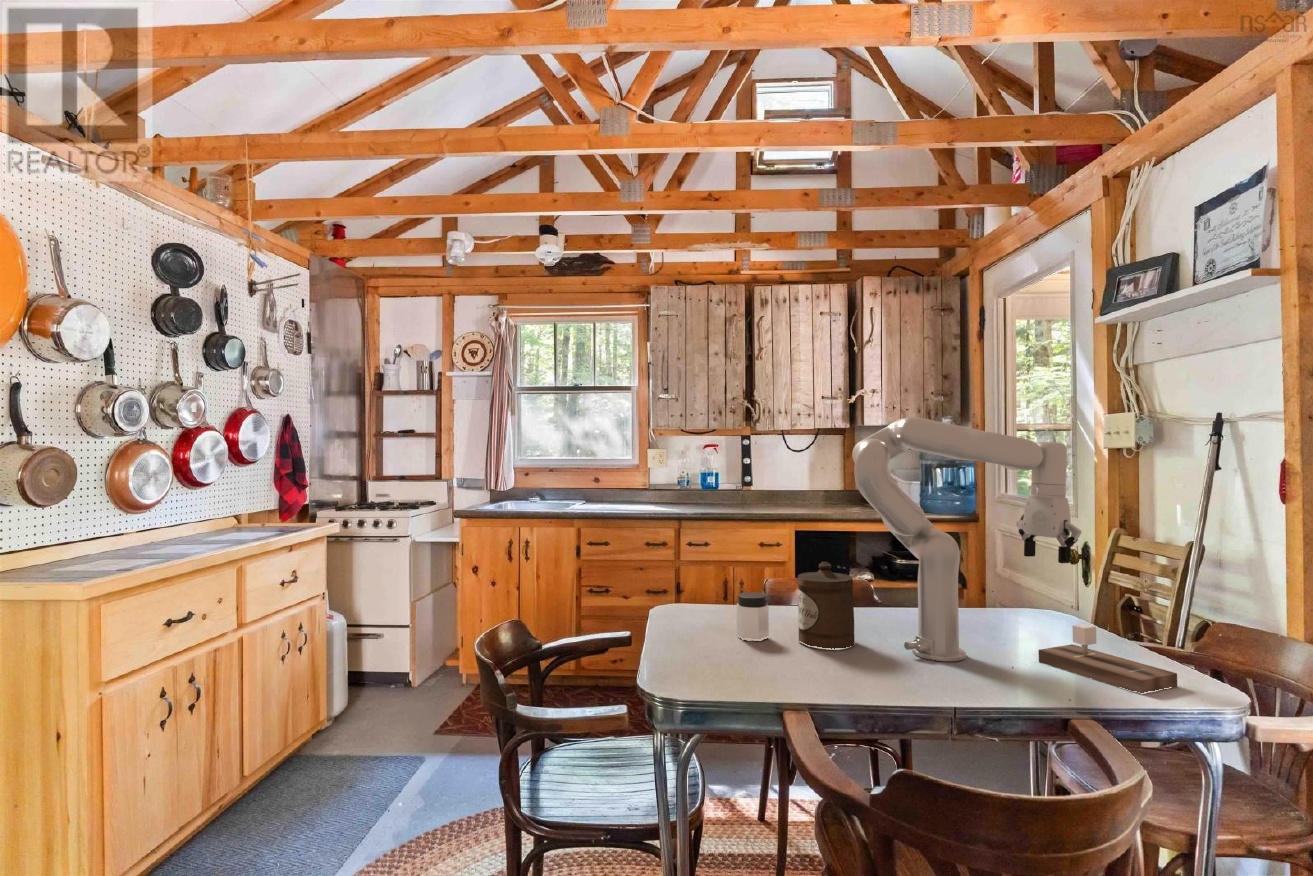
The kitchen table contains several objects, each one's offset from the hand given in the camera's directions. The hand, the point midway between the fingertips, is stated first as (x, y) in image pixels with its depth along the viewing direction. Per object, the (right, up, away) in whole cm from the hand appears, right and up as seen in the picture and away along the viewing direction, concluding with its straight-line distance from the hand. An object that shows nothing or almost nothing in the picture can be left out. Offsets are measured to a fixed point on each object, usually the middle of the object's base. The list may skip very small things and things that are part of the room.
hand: (1046, 559), depth 165 cm
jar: (-71, -26, +20) cm, 78 cm away
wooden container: (-51, -26, +15) cm, 59 cm away
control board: (+6, -25, -12) cm, 28 cm away
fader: (+5, -21, -8) cm, 23 cm away
